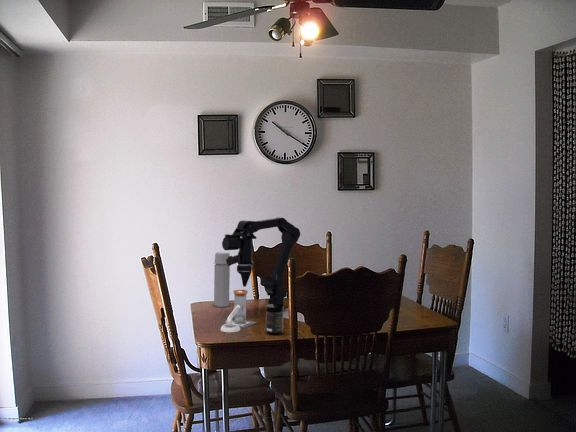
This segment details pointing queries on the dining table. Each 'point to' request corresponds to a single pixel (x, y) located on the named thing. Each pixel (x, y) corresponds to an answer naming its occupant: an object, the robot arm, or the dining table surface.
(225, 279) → the water bottle
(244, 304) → the clear copper-topped jar
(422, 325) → the dining table surface
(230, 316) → the hook
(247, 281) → the robot arm
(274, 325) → the supplement container
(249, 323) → the pad
